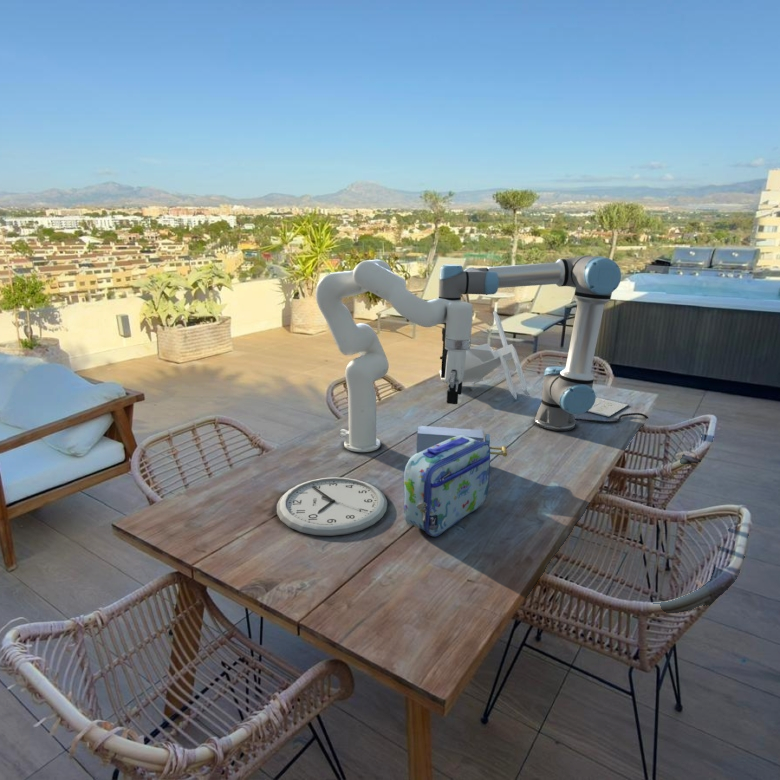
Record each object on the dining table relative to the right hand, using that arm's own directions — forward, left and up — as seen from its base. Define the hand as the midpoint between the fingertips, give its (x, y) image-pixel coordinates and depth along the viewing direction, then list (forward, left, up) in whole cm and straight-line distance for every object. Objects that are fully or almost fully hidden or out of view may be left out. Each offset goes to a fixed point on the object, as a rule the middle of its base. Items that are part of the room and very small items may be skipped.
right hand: (445, 372), depth 183 cm
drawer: (-8, +22, -24) cm, 34 cm away
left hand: (-3, +24, -2) cm, 24 cm away
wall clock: (+29, +53, -25) cm, 65 cm away
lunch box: (-2, +55, -25) cm, 60 cm away
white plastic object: (-16, -58, -25) cm, 65 cm away
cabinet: (-3, +22, -25) cm, 33 cm away
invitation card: (-67, -46, -25) cm, 85 cm away
